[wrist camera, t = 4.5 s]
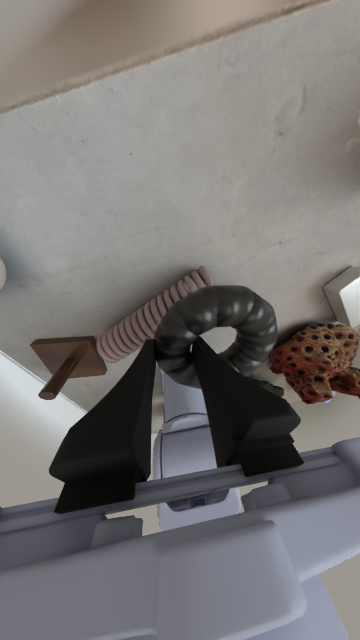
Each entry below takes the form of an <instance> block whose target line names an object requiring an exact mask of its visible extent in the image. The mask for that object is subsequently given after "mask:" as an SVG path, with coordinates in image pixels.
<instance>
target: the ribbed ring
mask: <svg viewBox="0 0 360 640" xmlns="http://www.w3.org/2000/svg"><path fill="white" fill-rule="evenodd" d="M229 326H230V327H232V328H234V329H236V331H237V335H236V339H235V341H234V342H233V343H232V345H231V346H230V347H229V348H228V349H227V350H225V351H223V352H221V353H219V354H218V355H219V356H220V357H221V358H222V359H223V360H224V361H225V362H226V363H227V364H229V365H230V366H231V367H233V368H234V369H235V370H236V371H238V372H239V373H241V374H242V375H244V376H245V377H247V376H248V375H250V374H251V373H252V372H253V371H254V370H256V369H257V368H258V367H259V366H260V365H262V364H263V363H264V362H265V361H266V360H267V358H268V356H269V354H270V352H271V350H272V349H273V347H274V345H275V343H276V341H277V338H278V330H277V323H276V316H275V311H274V309H273V307H272V306H271V305H270V304H269V303H268V302H267V301H265V300H264V299H263V298H261V297H260V296H259V295H257V294H256V293H254V292H253V291H252V290H250V289H249V288H247V287H244V286H238V285H228V286H205V287H202V288H200V289H198V290H196V291H195V292H193V293H191V294H189V295H187V296H186V297H184V298H182V299H180V300H178V301H177V302H175V303H174V304H172V305H171V307H170V308H169V309H168V311H167V312H166V314H165V316H164V317H163V319H162V321H161V322H160V324H159V326H158V327H157V329H156V331H155V334H154V346H155V356H156V362H157V364H158V366H159V367H160V368H161V369H162V370H163V371H164V372H165V373H166V374H167V375H168V376H169V377H170V378H171V379H172V380H173V381H174V382H176V383H178V384H181V385H185V386H189V387H193V388H197V389H201V386H200V383H199V380H198V377H197V374H196V371H195V368H194V364H193V358H192V353H191V351H190V346H191V344H192V343H193V342H194V341H195V339H196V338H197V337H198V336H199V335H201V334H203V333H205V332H207V331H209V330H211V329H213V328H215V327H229Z"/></svg>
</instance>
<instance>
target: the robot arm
mask: <svg viewBox="0 0 360 640" xmlns="http://www.w3.org/2000/svg"><path fill="white" fill-rule="evenodd" d="M192 358H193V364H194V368H195V371H196V374H197V377H198V380H199V383H200V386H201V389H197V388H193V387H189V386H185V385H181V384H178V383H176V382H174V381H173V380H172V379H171V378H170V377H169V376H168V375H167V374H166V373H165V372H164V371H163V370H162V369H161V375H162V386H163V394H164V409H165V423H164V424H163V431H162V432H159V433H158V435H157V437H156V439H155V442H154V448H153V480H151V481H147V479H148V478H149V476H150V474H151V419H152V395H153V387H154V378H155V370H156V356H155V346H154V339H146V340H145V343H144V345H143V347H142V349H141V350H140V352H139V354H138V355H137V357H136V359H135V360H134V362H133V363H132V365H131V366H130V368H129V369H128V370H127V372H126V373H125V374H124V376H123V377H122V378H121V379H120V380H119V382H118V383H117V384H116V385H115V386H114V387H113V388H112V389H111V391H110V392H109V393H108V394H107V395H106V396H105V397H104V398H103V399H102V400H101V401H100V402H99V403H98V404H97V405H96V406H95V407H94V408H93V409H91V410H90V411H89V412H88V413H87V414H86V415H85V416H84V417H83V418H81V419H80V420H79V421H78V422H77V423H76V424H75V425H73V426H72V427H71V428H70V429H69V431H68V433H67V435H66V436H65V438H64V440H63V441H62V443H61V445H60V447H59V449H58V452H57V454H56V456H55V457H54V460H53V462H52V464H51V466H50V468H49V473H50V475H52V476H53V477H55V478H57V479H59V480H61V481H63V482H65V484H64V487H63V489H62V492H61V495H60V497H59V498H55V499H49V500H44V501H38V502H33V503H28V504H22V505H17V506H12V507H6V508H1V507H0V640H349V638H348V636H347V633H346V631H345V629H344V627H343V625H342V623H341V621H340V619H339V616H338V614H337V613H336V610H335V608H334V606H333V604H332V602H331V600H330V597H329V595H328V593H327V591H326V589H325V587H324V585H323V583H322V581H321V579H320V576H319V573H321V572H323V571H325V570H327V569H329V568H331V567H333V566H335V565H337V564H339V563H341V562H343V561H345V560H347V559H349V558H351V557H353V556H355V555H357V554H359V553H360V438H354V439H348V440H343V441H340V442H337V443H335V444H334V445H332V447H328V448H323V449H317V450H312V451H307V452H302V453H298V452H297V450H296V449H295V447H294V445H293V444H292V443H294V440H293V438H292V437H291V435H290V434H289V433H290V432H291V431H293V430H294V429H295V428H296V427H297V426H298V425H299V424H300V421H301V419H300V417H299V416H298V414H297V413H296V412H295V411H294V409H293V408H292V407H291V406H290V404H289V403H288V402H287V401H286V400H285V399H283V398H281V397H279V396H277V395H275V394H274V393H272V392H270V391H268V390H266V389H264V388H263V387H261V386H259V385H258V384H256V383H254V382H253V381H251V380H249V379H248V378H246V377H245V376H244V375H242V374H241V373H239V372H238V371H236V370H235V369H234V368H233V367H231V366H230V365H229V364H227V363H226V362H225V361H224V360H223V359H222V358H221V357H220V356H219V355H218V354H216V353H215V352H214V350H213V349H212V348H211V347H210V346H209V345H208V344H207V343H206V342H205V341H204V340H203V339H202V338H201V337H200V336H198V337H197V338H196V339H195V341H194V342H193V343H192ZM265 481H268V485H266V486H263V487H259V488H256V489H253V490H252V491H251V492H249V493H248V494H246V495H243V496H241V501H242V504H243V507H244V510H245V512H243V513H239V512H240V509H241V503H240V493H239V489H238V487H241V486H246V485H251V484H256V483H260V482H265ZM155 504H157V516H158V518H159V525H160V527H161V529H162V530H163V531H162V532H158V533H154V534H150V535H146V536H142V525H143V520H142V519H141V518H135V516H134V515H132V516H126V517H118V518H112V519H107V517H106V516H105V515H106V514H112V513H116V512H121V511H126V510H131V509H135V508H140V507H145V506H150V505H155Z"/></svg>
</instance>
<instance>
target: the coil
mask: <svg viewBox="0 0 360 640" xmlns="http://www.w3.org/2000/svg"><path fill="white" fill-rule="evenodd" d="M199 272H200V274H201V276H202V278H203V279H204V281H205V282H206V284H207V286H215V284H214V282H213V280H212V278H211V276H210V274H209V272H208V271H207V269H206V268H205V267H204V266H200V267H199ZM191 275H192V278H193V280H194V281H193V280H192V279H191V277H190V276H185V278H184V281H185V283H184V282H183V281H178V283H177V286H176V285H172V286H171V288H170V290H165V291H164V294H159V295H158V296H157V298H154V299H152V300H151V302H148V303H146V304H145V306H142V307H140V308H139V309H138V310H136V311H134V312H133V314H130V315H128V316H127V318H124V319H123V320H122V321H121V322H118V323H117V324H116V325H115V326H112V327H111V328H110V329H108V330H107V331H105V332H104V333H102V334H101V335H100V336H99V337H98V339H97V343H96V346H97V351H98V353H99V354H100V356H101V357H102V358H103V359H104V360H105V361H107V362H111V363H116V362H118V361H120V360H121V359H123V358H125V357H126V356H128V355H130V354H131V353H133V352H135V351H136V350H137V349H139V348H141V347H142V346H143V345H144V343H145V340H146V339H154V334H155V331H156V329H157V327H158V326H159V324H160V322H161V321H162V319H163V317H164V316H165V314H166V312H167V311H168V309H169V308H170V307H171V305H172V304H174V303H173V302H172V300H173V301H174V302H177V301H178V300H180V298H181V299H182V298H184V297H186V296H187V295H189V294H191V293H193V292H195V291H196V290H198V289H200V288H202V287H205V286H206V285H205V284H204V282H203V281H202V279H201V278H200V276H199V274H198V273H197V272H196V271H193V272H192V273H191ZM194 282H195V283H194ZM171 299H172V300H171ZM164 301H165V303H166V304H165V303H164ZM157 305H158V306H157ZM153 318H154V319H155V321H156V322H157V324H158V325H157V324H156V323H155V321H154V319H153ZM145 319H146V320H147V321H146V320H145ZM138 321H139V322H138ZM152 329H153V330H154V332H153V330H152ZM129 337H130V338H131V339H130V338H129Z"/></svg>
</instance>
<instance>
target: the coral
mask: <svg viewBox="0 0 360 640" xmlns="http://www.w3.org/2000/svg"><path fill="white" fill-rule="evenodd" d="M359 340H360V337H359V335H358V334H357V333H356V332H355V330H353V329H350V328H349V327H347V326H345V325H341V324H338V325H333V324H331V323H317V324H313V325H310V326H308V327H306V328H305V329H304V330H302V331H298V332H297V334H295V335H294V336H293V337H292V338H291V340H289V341H288V342H287V343H282V346H277V347H276V348H275V349H273V350H272V353H271V356H270V361H271V362H272V365H271V367H270V368H269V369H270V370H271V371H272V372H273V373H276V374H279V373H283V374H284V376H285V377H286V381H287V383H288V384H289V385H290V386H292V388H293V389H294V391H295V392H296V393H298V395H299V397H301V399H302V401H303V402H305V403H306V404H314V403H316V402H325V401H328V400H330V399H331V398H333V394H332V391H337V392H340V393H344V394H349V395H354V396H358V397H359V398H360V369H358V368H354V367H350V366H351V365H352V361H353V359H354V358H355V356H356V353H357V349H358V347H359Z"/></svg>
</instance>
